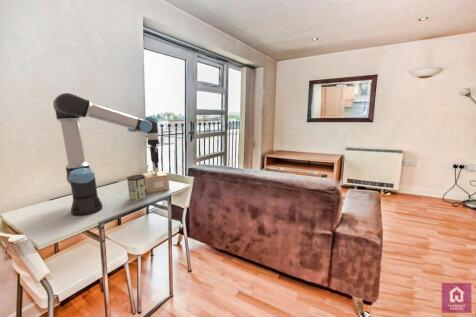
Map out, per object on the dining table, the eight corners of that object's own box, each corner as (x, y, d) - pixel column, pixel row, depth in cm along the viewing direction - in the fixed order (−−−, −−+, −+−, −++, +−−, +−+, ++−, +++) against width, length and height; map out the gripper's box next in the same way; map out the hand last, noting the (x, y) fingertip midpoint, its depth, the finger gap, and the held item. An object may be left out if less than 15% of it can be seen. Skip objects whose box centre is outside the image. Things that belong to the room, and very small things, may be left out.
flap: (156, 177, 165) (155, 168, 164) (150, 173, 179) (149, 164, 178) (167, 175, 169) (167, 166, 168) (161, 171, 183) (160, 163, 182)
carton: (149, 193, 163) (147, 178, 161) (143, 187, 178) (141, 173, 176) (169, 189, 171) (168, 175, 169) (162, 184, 186) (160, 170, 184)
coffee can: (134, 195, 160) (132, 174, 158) (149, 195, 159) (147, 174, 157) (126, 200, 150) (123, 178, 148) (141, 200, 149) (139, 178, 147)
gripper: (161, 139, 164) (164, 172, 168) (155, 137, 178) (158, 168, 182) (150, 140, 160) (153, 174, 164) (144, 138, 174) (147, 170, 178)
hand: (155, 171), depth 173 cm, fingers closed on flap, 4 cm apart
